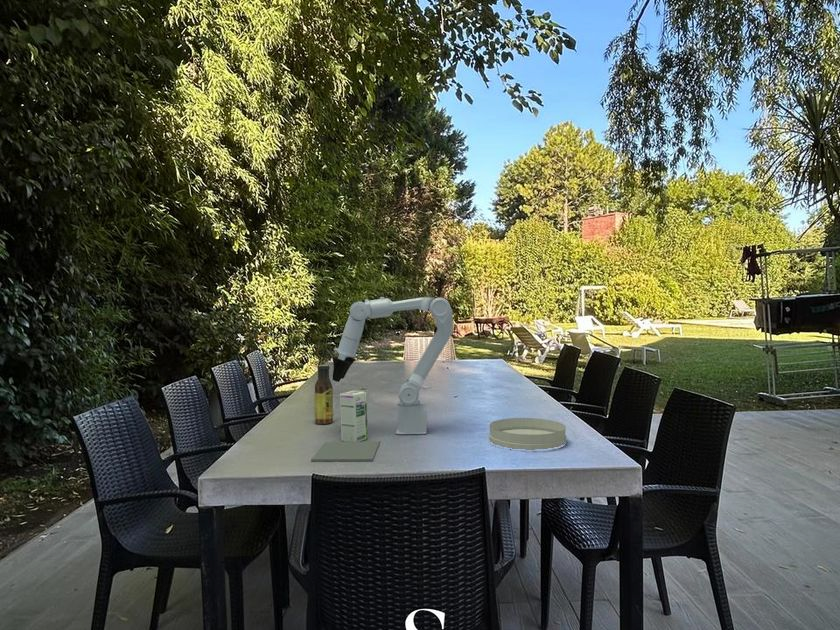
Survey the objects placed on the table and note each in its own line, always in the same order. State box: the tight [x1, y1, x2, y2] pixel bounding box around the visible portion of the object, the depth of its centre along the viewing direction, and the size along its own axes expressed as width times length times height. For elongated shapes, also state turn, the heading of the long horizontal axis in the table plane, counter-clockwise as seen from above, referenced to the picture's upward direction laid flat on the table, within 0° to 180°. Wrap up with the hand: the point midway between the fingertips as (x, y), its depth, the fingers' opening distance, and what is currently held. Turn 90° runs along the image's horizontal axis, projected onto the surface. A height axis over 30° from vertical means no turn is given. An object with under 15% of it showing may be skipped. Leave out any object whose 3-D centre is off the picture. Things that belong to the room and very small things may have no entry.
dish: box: [488, 417, 567, 450], centre depth 159 cm, size 22×22×5 cm
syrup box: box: [339, 390, 369, 442], centre depth 163 cm, size 6×6×14 cm
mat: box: [310, 440, 381, 463], centre depth 151 cm, size 16×18×1 cm
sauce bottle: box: [314, 364, 334, 425], centre depth 188 cm, size 6×6×20 cm
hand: (337, 379), depth 173 cm, fingers open, 7 cm apart
